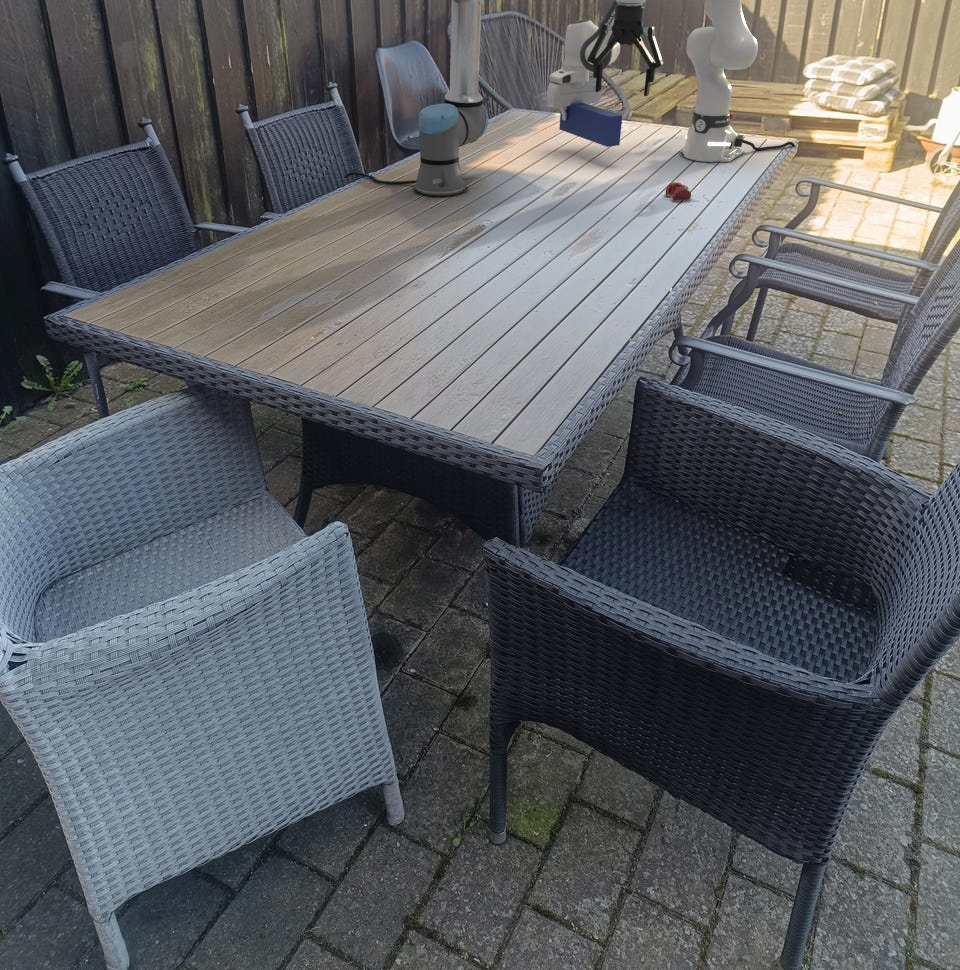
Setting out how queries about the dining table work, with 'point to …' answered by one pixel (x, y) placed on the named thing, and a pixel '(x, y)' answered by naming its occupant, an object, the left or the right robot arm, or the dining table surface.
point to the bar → (592, 124)
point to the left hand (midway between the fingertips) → (622, 93)
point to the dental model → (678, 191)
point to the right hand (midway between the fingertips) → (572, 119)
